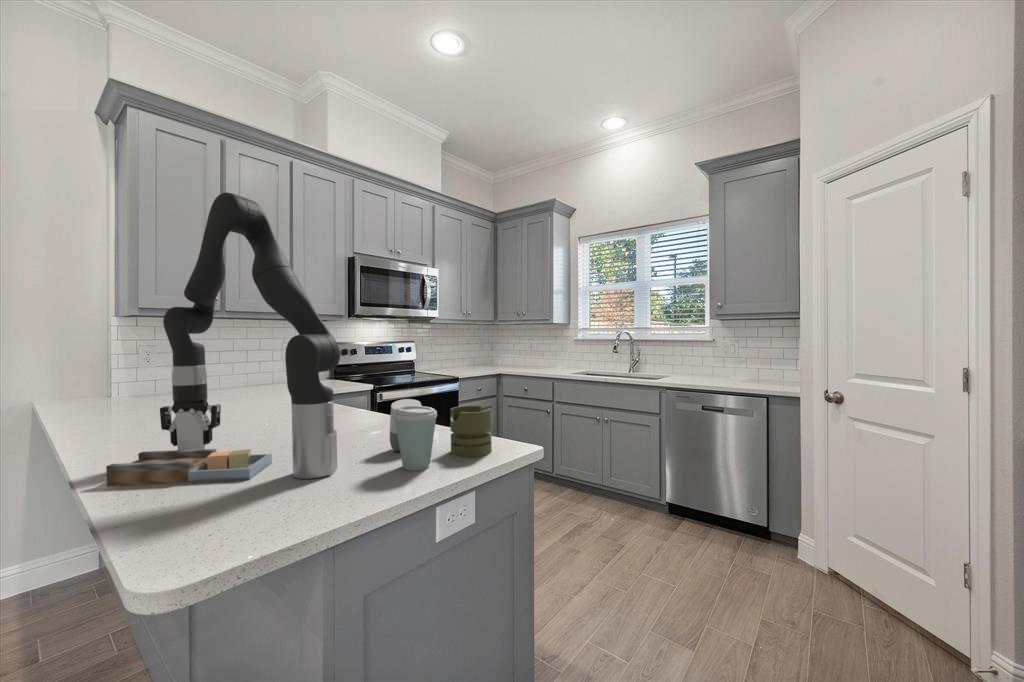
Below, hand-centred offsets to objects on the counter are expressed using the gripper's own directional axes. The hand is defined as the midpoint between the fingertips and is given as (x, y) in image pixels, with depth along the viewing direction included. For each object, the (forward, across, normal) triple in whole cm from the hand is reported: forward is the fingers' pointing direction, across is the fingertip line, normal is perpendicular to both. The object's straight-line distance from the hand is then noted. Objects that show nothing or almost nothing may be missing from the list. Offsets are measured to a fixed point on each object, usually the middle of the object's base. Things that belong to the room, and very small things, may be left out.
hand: (191, 444), depth 121 cm
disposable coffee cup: (+5, -60, +16) cm, 62 cm away
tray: (+4, -16, +13) cm, 21 cm away
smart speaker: (+5, -56, -1) cm, 56 cm away
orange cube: (+4, -13, +13) cm, 18 cm away
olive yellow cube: (+2, -15, +12) cm, 20 cm away
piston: (+5, -74, +4) cm, 74 cm away
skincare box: (+3, 0, 0) cm, 3 cm away
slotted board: (+4, -1, +13) cm, 14 cm away
